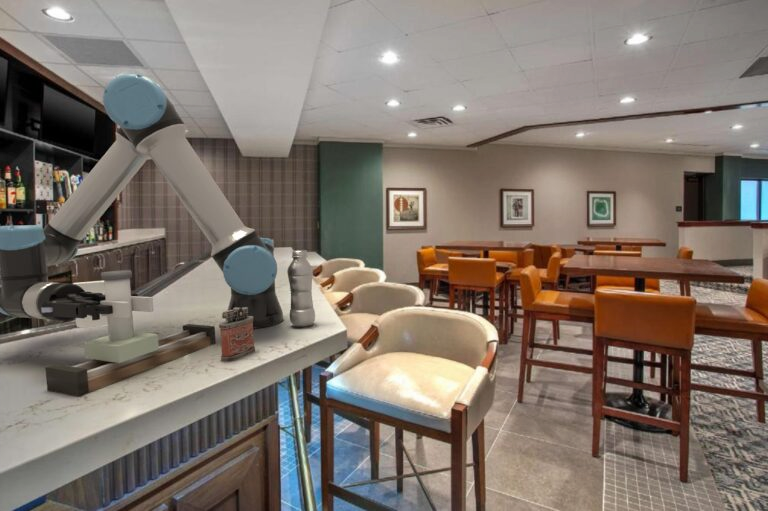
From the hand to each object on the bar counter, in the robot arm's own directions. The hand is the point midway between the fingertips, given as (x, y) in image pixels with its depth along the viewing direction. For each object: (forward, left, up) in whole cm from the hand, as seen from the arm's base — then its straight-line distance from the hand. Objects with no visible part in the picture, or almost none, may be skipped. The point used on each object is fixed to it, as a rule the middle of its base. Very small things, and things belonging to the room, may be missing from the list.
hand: (139, 307), depth 75 cm
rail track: (+2, -6, -13) cm, 14 cm away
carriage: (+5, -3, -9) cm, 11 cm away
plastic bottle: (-29, -27, -13) cm, 42 cm away
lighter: (-16, -6, -13) cm, 21 cm away
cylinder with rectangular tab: (+29, -47, -13) cm, 57 cm away
